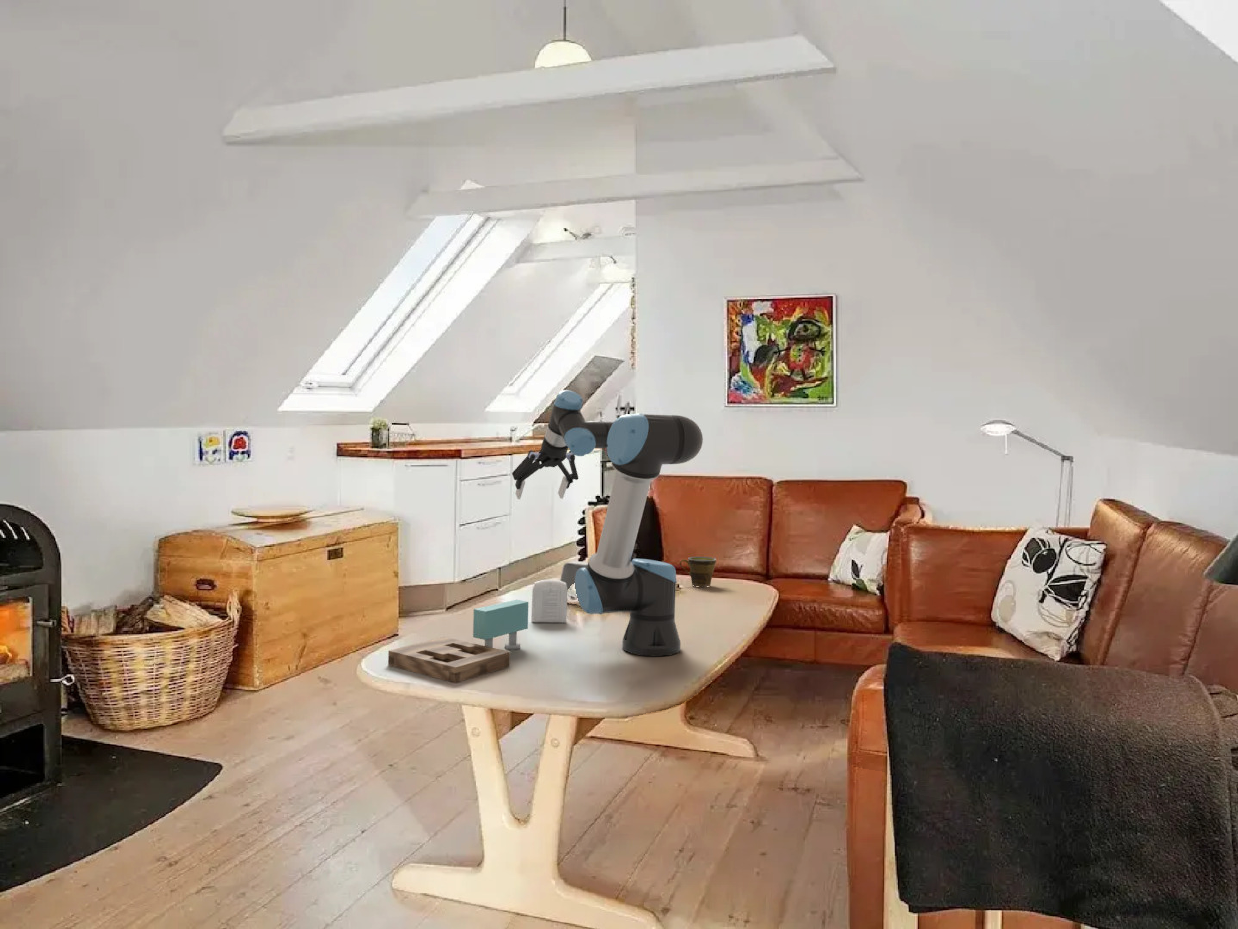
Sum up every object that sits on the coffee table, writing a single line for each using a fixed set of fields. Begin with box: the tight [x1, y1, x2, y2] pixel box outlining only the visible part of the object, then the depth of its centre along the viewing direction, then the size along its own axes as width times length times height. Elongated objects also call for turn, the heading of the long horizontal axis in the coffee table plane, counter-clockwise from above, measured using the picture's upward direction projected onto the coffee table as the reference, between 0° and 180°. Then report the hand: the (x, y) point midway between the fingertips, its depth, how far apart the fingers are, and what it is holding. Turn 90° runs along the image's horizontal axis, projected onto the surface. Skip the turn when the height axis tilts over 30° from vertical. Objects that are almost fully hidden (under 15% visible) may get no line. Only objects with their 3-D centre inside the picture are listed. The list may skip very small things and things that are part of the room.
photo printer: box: [530, 578, 568, 624], centre depth 265 cm, size 10×4×12 cm, turn 98°
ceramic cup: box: [679, 556, 717, 588], centre depth 329 cm, size 13×10×10 cm
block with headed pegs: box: [472, 599, 529, 651], centre depth 230 cm, size 4×16×12 cm, turn 145°
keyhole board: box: [387, 636, 511, 684], centre depth 215 cm, size 22×18×4 cm
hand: (539, 496), depth 271 cm, fingers open, 13 cm apart
